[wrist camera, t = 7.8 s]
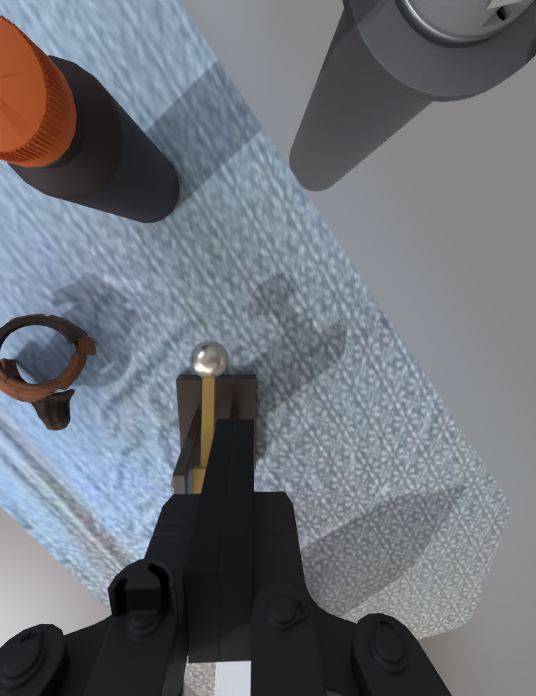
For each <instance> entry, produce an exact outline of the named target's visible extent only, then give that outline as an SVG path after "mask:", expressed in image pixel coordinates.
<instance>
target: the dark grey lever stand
mask: <svg viewBox="0 0 536 696" xmlns="http://www.w3.org/2000/svg"><path fill="white" fill-rule="evenodd" d="M176 386H177V401H178V416H179V431H180V446H181V453H180V456H179V459H178V462H177V464H176V467H175V470H174V473H173V477H172V482H171V490H172V492H174V494H192V482H193V469H194V468H195V467H196V465H197V464H201V428H202V389H203V378H202V377H200V376H198V375H179V376H178V377H177V379H176ZM217 419H254V469H256V375H221V376H219V377H217V378H216V396H215V426H216V422H217Z"/></svg>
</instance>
